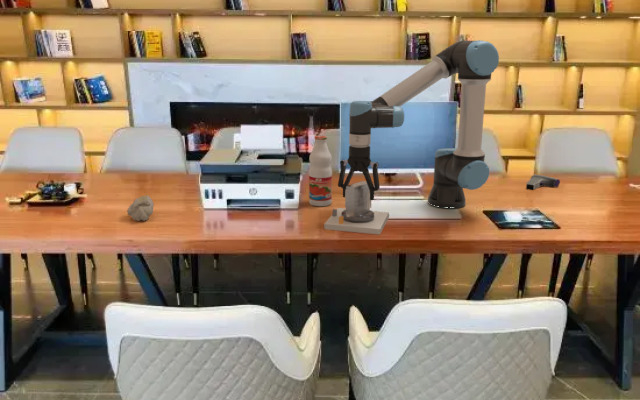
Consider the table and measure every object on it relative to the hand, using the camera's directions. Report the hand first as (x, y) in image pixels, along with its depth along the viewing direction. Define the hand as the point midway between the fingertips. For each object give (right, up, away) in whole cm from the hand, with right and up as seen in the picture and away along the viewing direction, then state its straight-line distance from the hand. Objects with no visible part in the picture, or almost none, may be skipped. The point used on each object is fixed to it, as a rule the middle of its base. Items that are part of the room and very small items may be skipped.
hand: (358, 207), depth 197 cm
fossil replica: (-81, -5, +6) cm, 81 cm away
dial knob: (0, -4, +1) cm, 4 cm away
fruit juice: (-14, +1, +26) cm, 29 cm away
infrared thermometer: (+89, +8, +52) cm, 103 cm away
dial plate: (0, -6, +2) cm, 6 cm away
